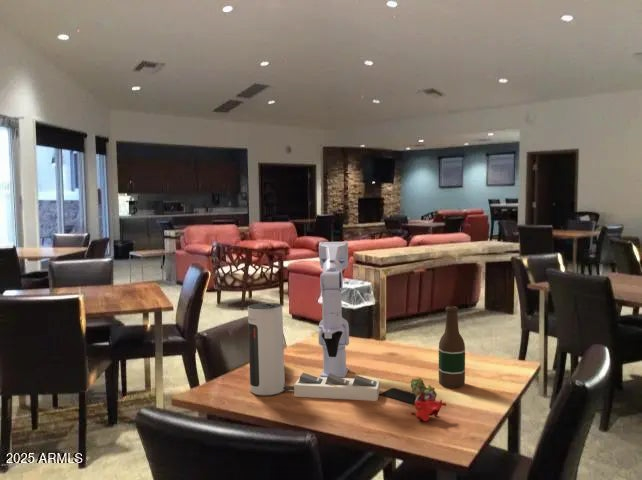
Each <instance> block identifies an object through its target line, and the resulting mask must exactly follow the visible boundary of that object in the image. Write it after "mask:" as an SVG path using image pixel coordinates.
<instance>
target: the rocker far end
mask: <svg viewBox="0 0 642 480" xmlns="http://www.w3.org/2000/svg"><path fill="white" fill-rule="evenodd" d="M353 379H354V383H353V384H357V385H360V386H371V387H374V386H375V383H376V381H373V380H374V379H372V380H370V378H367V377H363V376H359V375H355V377H354V378H353Z"/></svg>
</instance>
